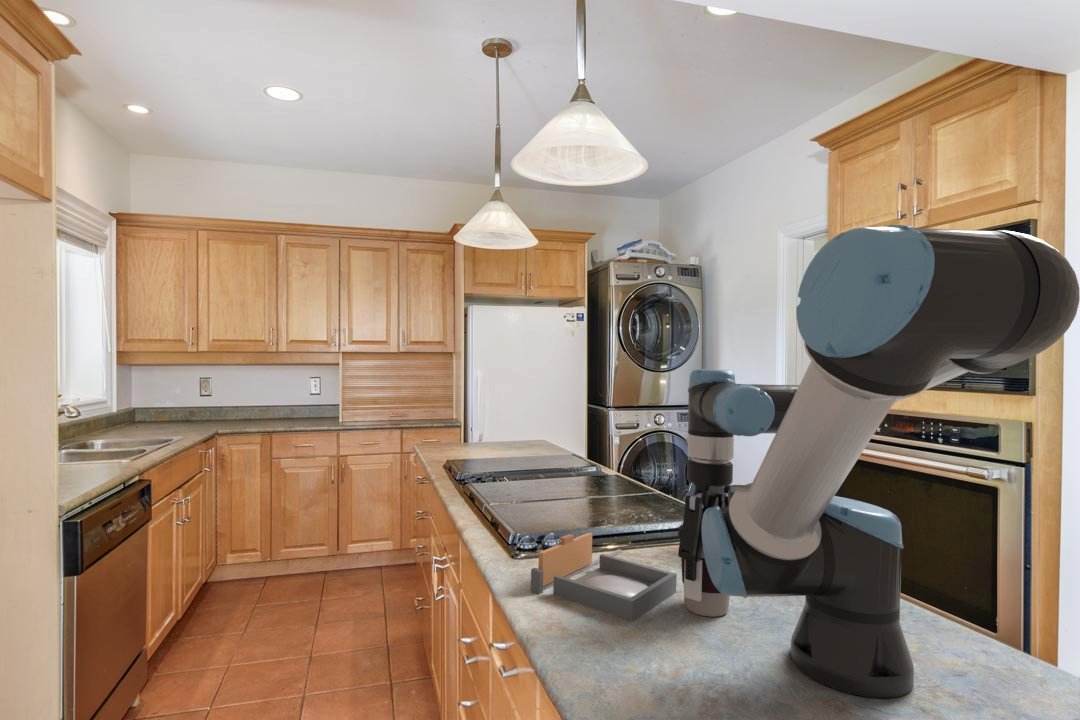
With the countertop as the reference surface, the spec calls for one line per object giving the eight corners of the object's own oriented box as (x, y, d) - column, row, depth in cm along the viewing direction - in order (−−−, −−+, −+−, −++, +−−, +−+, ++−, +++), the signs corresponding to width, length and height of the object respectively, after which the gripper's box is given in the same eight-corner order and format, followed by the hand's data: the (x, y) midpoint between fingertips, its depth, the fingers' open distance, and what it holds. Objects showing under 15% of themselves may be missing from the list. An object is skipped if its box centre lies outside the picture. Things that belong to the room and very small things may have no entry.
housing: (702, 573, 116) (703, 553, 116) (627, 625, 93) (627, 600, 93) (616, 550, 128) (616, 532, 128) (530, 591, 105) (531, 569, 105)
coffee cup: (743, 605, 101) (745, 519, 101) (727, 627, 93) (730, 533, 93) (687, 592, 107) (689, 510, 106) (668, 611, 98) (670, 522, 98)
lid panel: (591, 563, 118) (592, 527, 118) (542, 586, 106) (543, 546, 106) (587, 562, 119) (588, 526, 119) (538, 585, 106) (539, 545, 106)
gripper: (715, 449, 111) (712, 564, 111) (658, 465, 93) (654, 603, 93) (755, 454, 106) (752, 574, 106) (703, 472, 88) (699, 617, 88)
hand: (706, 588), depth 100 cm, fingers open, 11 cm apart
